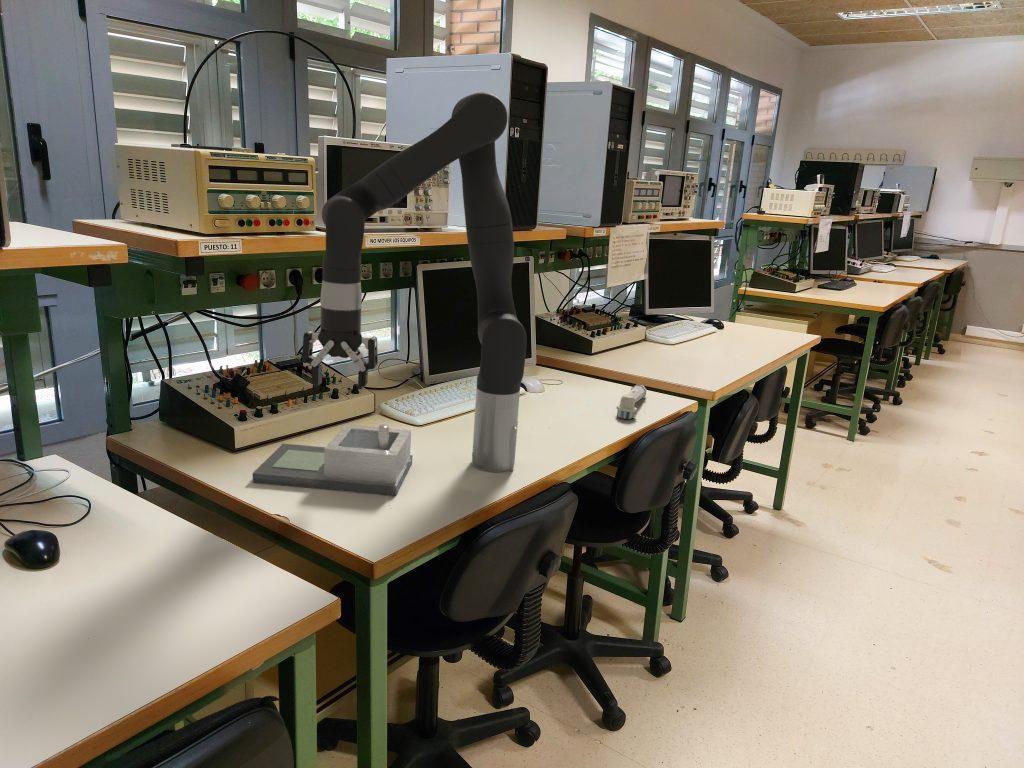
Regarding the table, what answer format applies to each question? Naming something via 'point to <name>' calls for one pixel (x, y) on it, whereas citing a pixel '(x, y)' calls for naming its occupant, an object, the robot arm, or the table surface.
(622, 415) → the grey handheld tool
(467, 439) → the table surface
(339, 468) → the grey recessed block
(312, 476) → the grey base with peg
